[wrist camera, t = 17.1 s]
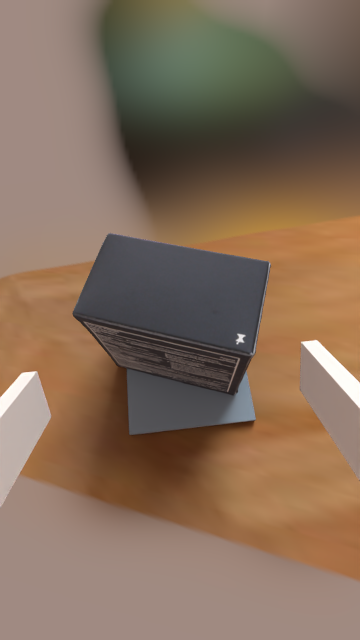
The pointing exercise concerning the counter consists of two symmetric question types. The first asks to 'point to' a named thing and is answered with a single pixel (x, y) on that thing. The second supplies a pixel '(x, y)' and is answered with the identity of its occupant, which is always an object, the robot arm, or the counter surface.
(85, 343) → the counter surface
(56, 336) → the counter surface
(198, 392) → the mat
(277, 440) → the counter surface
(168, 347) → the small box
